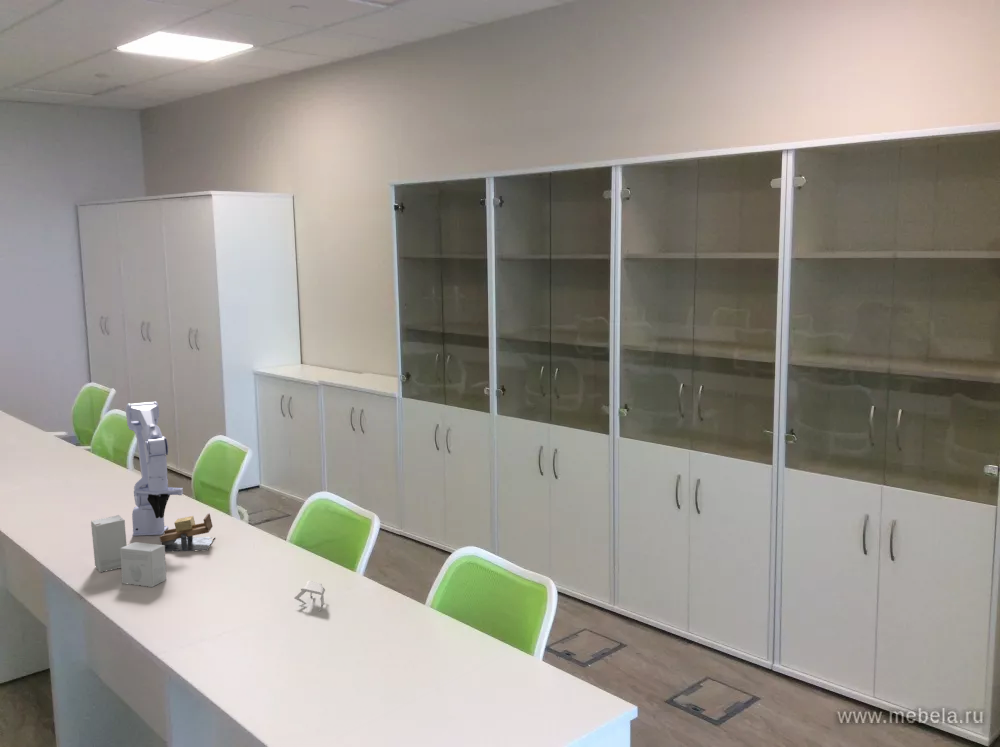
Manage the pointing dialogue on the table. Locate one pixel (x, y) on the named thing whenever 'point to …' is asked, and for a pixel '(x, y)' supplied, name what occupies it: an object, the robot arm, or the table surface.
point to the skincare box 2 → (143, 564)
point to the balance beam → (200, 528)
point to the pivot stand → (189, 544)
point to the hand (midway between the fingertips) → (159, 517)
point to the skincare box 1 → (108, 542)
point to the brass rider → (185, 524)
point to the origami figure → (312, 591)
